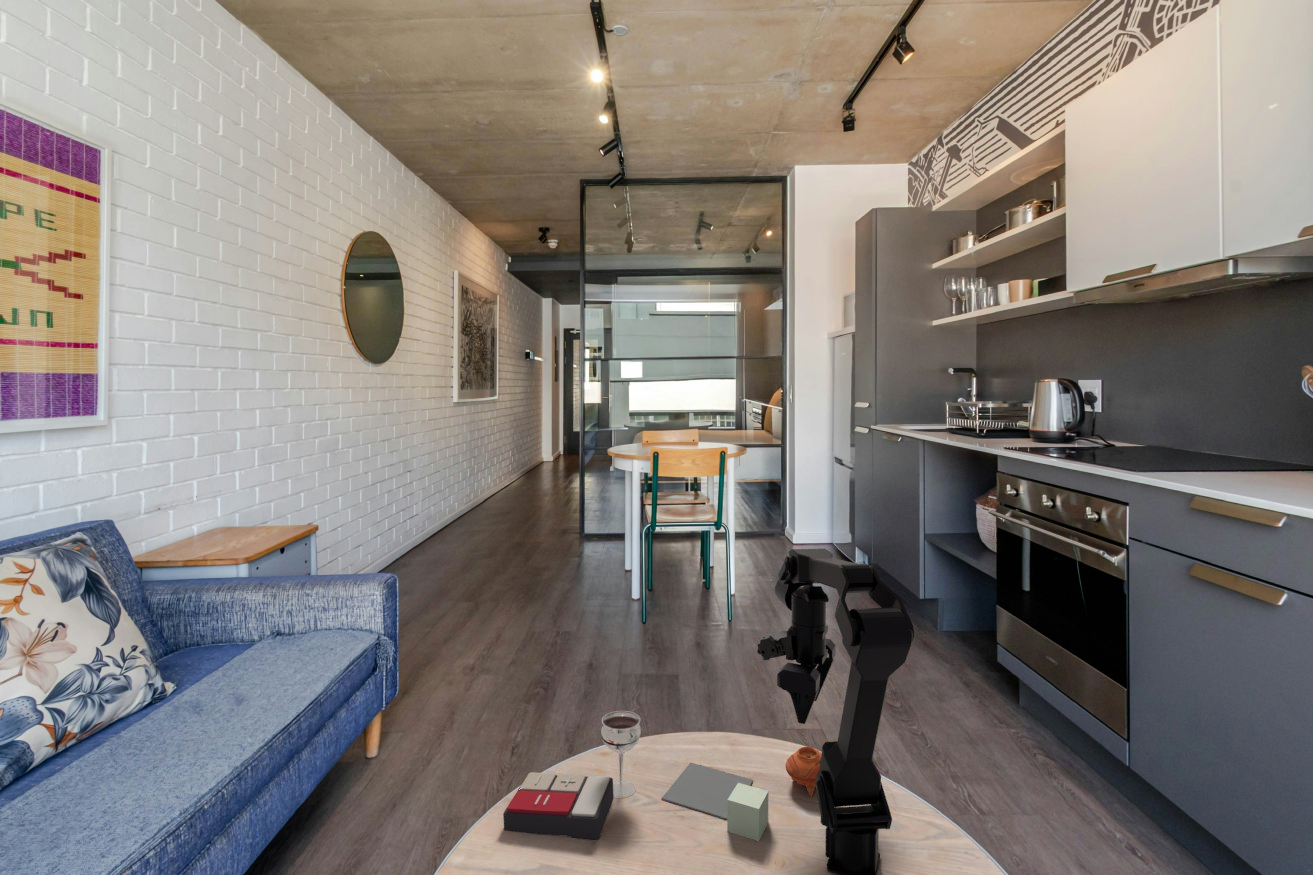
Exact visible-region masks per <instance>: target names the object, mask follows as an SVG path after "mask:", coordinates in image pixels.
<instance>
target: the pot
mask: <svg viewBox="0 0 1313 875" xmlns="http://www.w3.org/2000/svg"><path fill="white" fill-rule="evenodd" d="M821 755H822V752H820V751H819V750H817V749H816V748H814V747H812V746H803V747H800V748H798V749H797V750H796V751H795V752H794V753H792V754H791V755H790V756H789V757H788V759H787V760H786V762H785V770H786V772H787V774H788V776H789V777H790V778H791V780H792V781H793V782H796V783H798V784H800V785H802V786H806V790H807V792H808V795H809V797H812V796H813V793H814V790H815V788H816V777H817V772H818V771H819V768H820V764H819V761H820V759H821Z"/></svg>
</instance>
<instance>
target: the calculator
mask: <svg viewBox="0 0 1313 875" xmlns="http://www.w3.org/2000/svg"><path fill="white" fill-rule="evenodd" d="M532 780H533V781H532ZM613 782H614V779H613V777H610V776H597V775H596V776H595V775H588V776H586V775H585V774H578V773H575V774H574V773H573V774H572V773H559V774H556V773H555V772H553V773H551V772H532V771H531V772H529V773H528V774H527V775H526V777H525V779H523V781H522V783H521V785H520V786H519V788H518V789H517V791H516V792H515V794H514V796H513V797H512V799H511V800H510V802H509V803H508V805H507V806H506V808H505V810H504V811H503V815H502V816H503V831H505V832H512V833H521V834H529V835H531V834H532V835H544V836H545V835H546V836H558V837H560V836H561V837H569V838H570V839H575V840H585V841H592V842H593V841H595V842H597V841H599V839H600V837H601V835H602V831H603V829H604V826H605V823H606V820H607V819H608V818H607V817H608V815H609V813H610V810H611V808H612V806H613V805H612V804H613V801H614V798H615V797H614V793H613ZM522 787H523V788H522ZM520 788H522V789H520ZM519 789H520V790H519Z"/></svg>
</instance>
